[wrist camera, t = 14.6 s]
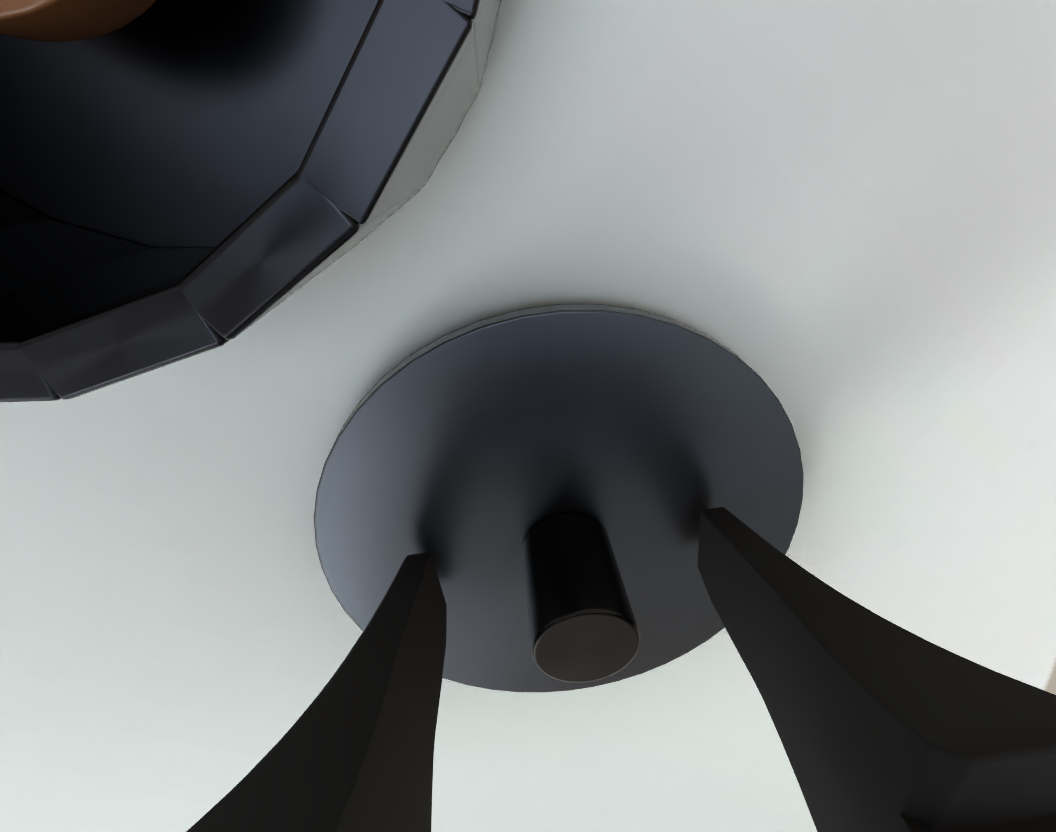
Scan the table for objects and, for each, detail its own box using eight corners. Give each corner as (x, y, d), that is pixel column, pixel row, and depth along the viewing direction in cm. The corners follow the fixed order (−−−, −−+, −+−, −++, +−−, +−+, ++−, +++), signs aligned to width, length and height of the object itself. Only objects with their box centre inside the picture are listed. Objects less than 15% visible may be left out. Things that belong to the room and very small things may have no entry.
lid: (438, 700, 18) (426, 844, 14) (223, 399, 12) (101, 517, 8) (792, 602, 17) (880, 730, 13) (764, 214, 11) (916, 250, 7)
